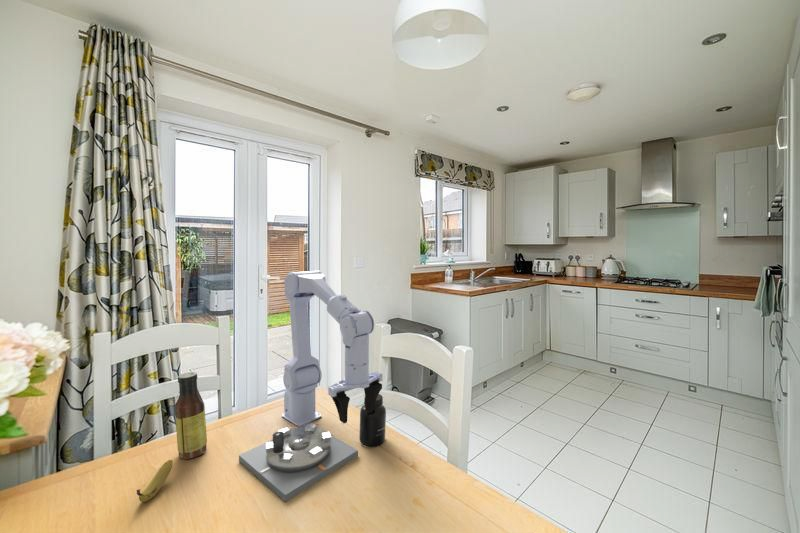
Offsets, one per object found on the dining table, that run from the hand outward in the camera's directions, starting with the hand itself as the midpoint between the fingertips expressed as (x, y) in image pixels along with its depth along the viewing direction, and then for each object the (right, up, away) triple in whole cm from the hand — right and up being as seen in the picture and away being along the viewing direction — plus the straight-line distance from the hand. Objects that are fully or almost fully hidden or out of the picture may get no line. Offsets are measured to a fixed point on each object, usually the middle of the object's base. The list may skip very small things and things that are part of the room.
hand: (356, 416), depth 85 cm
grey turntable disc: (-14, -8, -1) cm, 16 cm away
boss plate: (-14, -10, -1) cm, 17 cm away
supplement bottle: (+3, -10, +7) cm, 13 cm away
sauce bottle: (-41, -10, +1) cm, 42 cm away
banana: (-40, -11, -12) cm, 44 cm away
